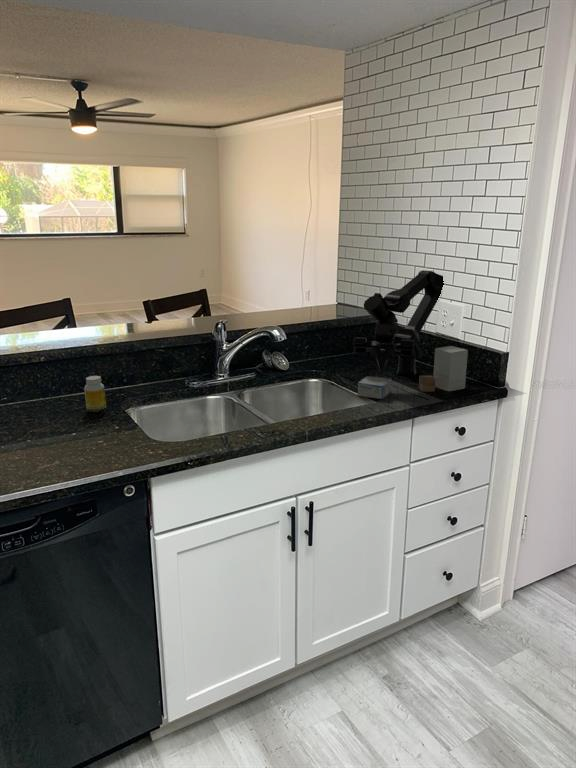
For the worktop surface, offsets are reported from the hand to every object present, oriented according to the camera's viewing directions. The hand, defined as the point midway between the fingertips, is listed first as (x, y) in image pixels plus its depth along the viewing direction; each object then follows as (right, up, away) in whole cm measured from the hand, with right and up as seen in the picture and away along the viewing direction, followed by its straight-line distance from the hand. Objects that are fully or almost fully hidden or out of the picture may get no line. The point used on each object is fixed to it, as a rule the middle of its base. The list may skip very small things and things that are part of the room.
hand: (381, 369), depth 174 cm
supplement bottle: (-83, -12, -13) cm, 85 cm away
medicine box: (0, -4, +3) cm, 5 cm away
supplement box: (+23, -6, +7) cm, 24 cm away
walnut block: (+15, -6, +4) cm, 17 cm away
